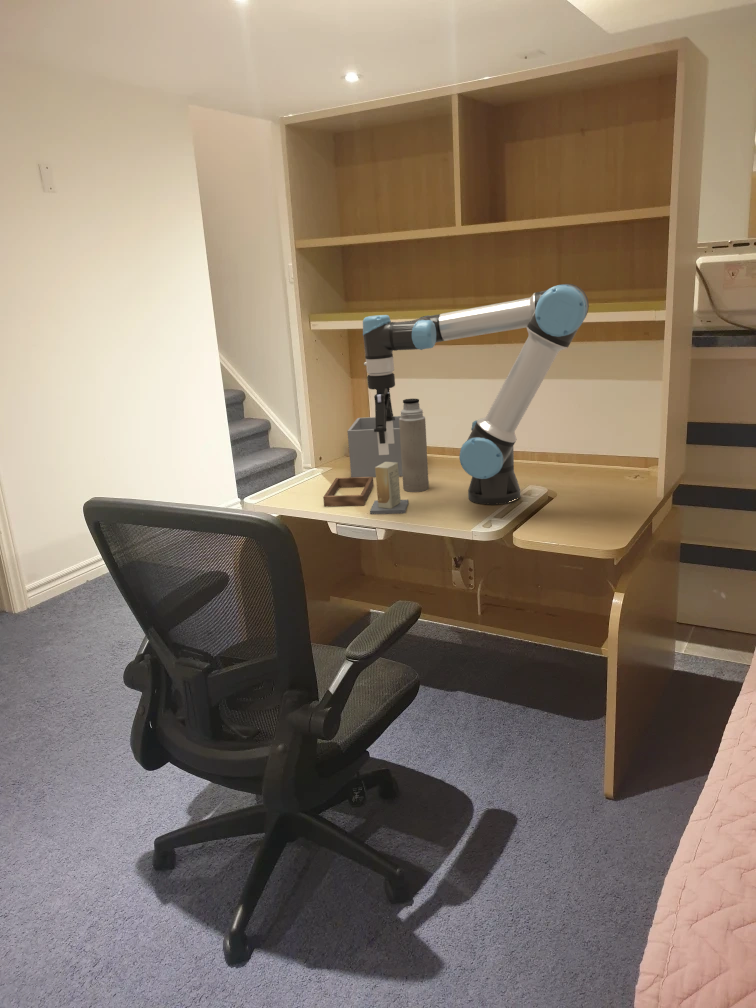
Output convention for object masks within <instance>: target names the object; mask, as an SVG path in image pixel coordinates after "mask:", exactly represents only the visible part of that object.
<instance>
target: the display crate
mask: <svg viewBox="0 0 756 1008" xmlns="http://www.w3.org/2000/svg"><path fill="white" fill-rule="evenodd" d="M393 417H394V415H393ZM399 418H401V415H395V420H391V421H393V431H394V444H388V447H389V455H379V449H378V438H377V432H374V429H375V428H376V421H375V416H369V417H357V418H356V419H355V420H354V421H353V423H352V425H351V426H350V427H349V428H348V430H347V441H348V442H347V443H348V454H349V466H350V467H349V468H350V477H373V478H376V471H375V467H377V466H378V465H380V464H382V463H384V462H396V463H398V473H399V477H403V476H402V460H401V444H400V428H399Z"/></svg>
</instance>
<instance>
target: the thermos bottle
mask: <svg viewBox="0 0 756 1008" xmlns="http://www.w3.org/2000/svg"><path fill="white" fill-rule="evenodd" d="M402 403H403V405H402V407H403V409H401V411H400V416H401V418H399V428H400V444H401V460H402V476H401V477H402V489H403V491H404V492H410V493H417V492H418V493H419V492H423V491H427V490H429V486H430V483H429V482H430V481H429V467H428V464H429V463H428V450H427V449H428V446H427V428H426V424H427V423H426V416H424V412H423V408H420V399H419V398H405V399H403V400H402Z"/></svg>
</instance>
